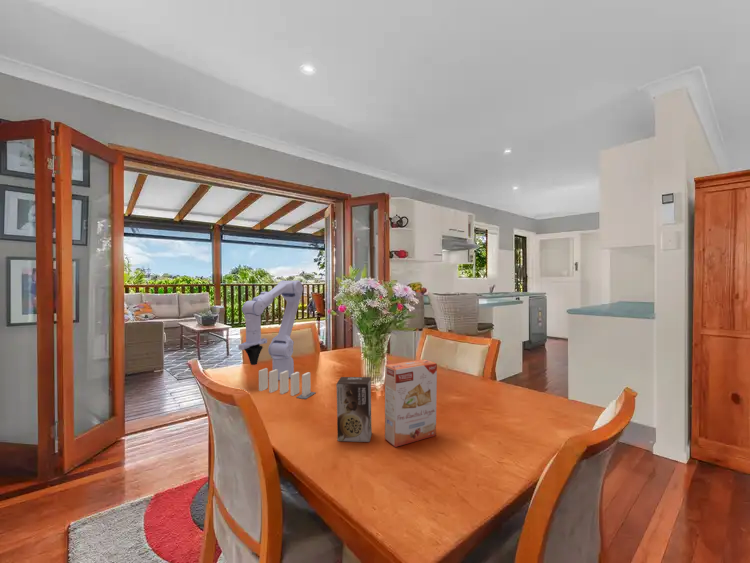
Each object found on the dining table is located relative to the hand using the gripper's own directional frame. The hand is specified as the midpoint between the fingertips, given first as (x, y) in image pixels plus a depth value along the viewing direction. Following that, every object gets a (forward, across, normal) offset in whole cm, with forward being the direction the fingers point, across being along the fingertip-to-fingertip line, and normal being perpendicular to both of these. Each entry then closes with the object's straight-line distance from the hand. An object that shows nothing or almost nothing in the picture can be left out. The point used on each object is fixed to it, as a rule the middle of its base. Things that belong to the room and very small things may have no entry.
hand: (253, 364), depth 141 cm
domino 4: (+10, 0, -19) cm, 22 cm away
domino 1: (+10, +1, -4) cm, 11 cm away
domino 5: (+10, 0, -24) cm, 26 cm away
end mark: (+10, 0, -24) cm, 26 cm away
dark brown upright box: (+10, -24, -55) cm, 61 cm away
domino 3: (+10, 0, -14) cm, 17 cm away
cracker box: (+10, -19, -70) cm, 74 cm away
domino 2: (+10, +1, -9) cm, 13 cm away
